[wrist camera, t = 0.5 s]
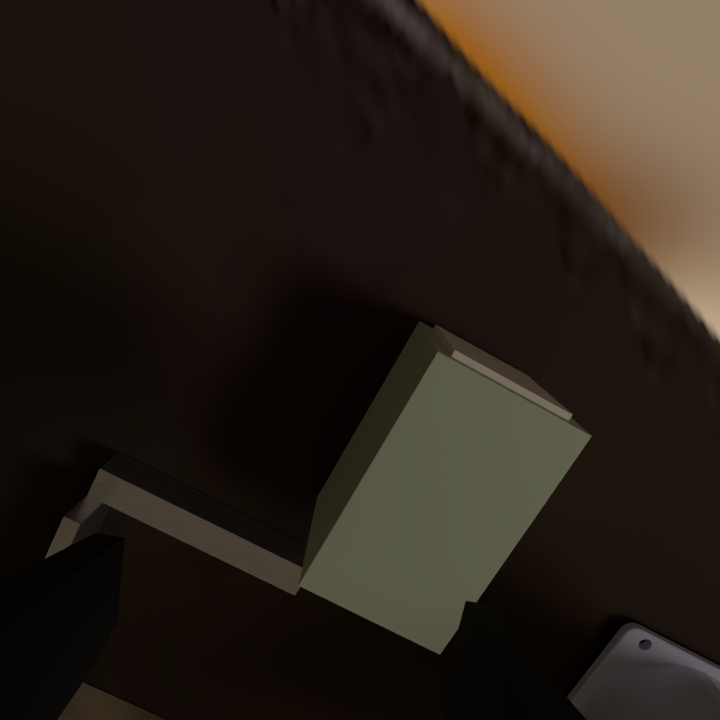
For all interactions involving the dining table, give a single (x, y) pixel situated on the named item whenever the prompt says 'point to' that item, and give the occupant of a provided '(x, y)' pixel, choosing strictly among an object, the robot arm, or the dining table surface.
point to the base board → (102, 707)
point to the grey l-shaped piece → (184, 521)
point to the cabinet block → (436, 487)
